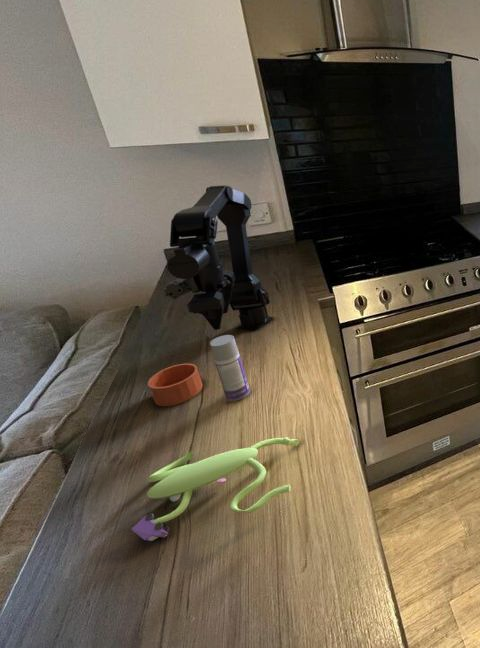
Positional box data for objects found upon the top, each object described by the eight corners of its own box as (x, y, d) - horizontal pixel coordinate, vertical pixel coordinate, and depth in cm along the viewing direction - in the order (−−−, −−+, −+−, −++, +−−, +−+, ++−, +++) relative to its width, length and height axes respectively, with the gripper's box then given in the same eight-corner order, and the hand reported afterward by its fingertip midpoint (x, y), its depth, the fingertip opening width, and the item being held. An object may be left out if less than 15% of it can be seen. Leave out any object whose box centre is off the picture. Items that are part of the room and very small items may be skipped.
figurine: (286, 525, 73) (279, 501, 71) (101, 557, 68) (87, 533, 66) (316, 441, 90) (311, 419, 88) (168, 461, 85) (159, 439, 83)
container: (233, 388, 105) (217, 334, 100) (253, 387, 105) (238, 334, 100) (222, 401, 101) (204, 346, 95) (243, 400, 101) (226, 345, 96)
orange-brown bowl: (183, 377, 109) (177, 360, 107) (212, 383, 107) (206, 366, 105) (144, 402, 100) (137, 384, 99) (175, 409, 98) (168, 391, 97)
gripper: (175, 255, 109) (191, 311, 114) (149, 283, 93) (169, 346, 98) (228, 249, 113) (241, 303, 118) (212, 274, 97) (228, 335, 102)
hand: (221, 320), depth 109 cm, fingers open, 9 cm apart
